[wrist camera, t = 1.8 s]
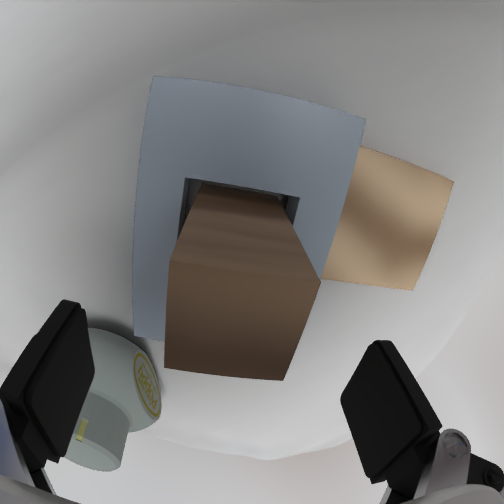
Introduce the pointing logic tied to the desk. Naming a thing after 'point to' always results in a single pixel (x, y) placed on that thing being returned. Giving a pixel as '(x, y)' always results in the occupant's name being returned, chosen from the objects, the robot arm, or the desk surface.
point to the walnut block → (237, 287)
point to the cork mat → (387, 222)
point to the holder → (233, 171)
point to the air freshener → (114, 402)
